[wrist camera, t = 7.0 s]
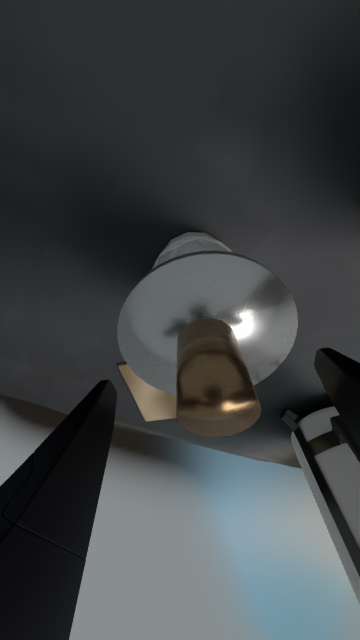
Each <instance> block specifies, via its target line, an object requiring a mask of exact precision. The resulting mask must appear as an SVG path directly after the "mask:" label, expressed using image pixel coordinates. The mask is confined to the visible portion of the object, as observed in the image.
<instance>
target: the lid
mask: <svg viewBox="0 0 360 640" xmlns="http://www.w3.org/2000/svg"><path fill="white" fill-rule="evenodd" d="M297 328H298V315H297V310H296V305H295V303H294V300H293V297H292V296H291V294H290V292H289V290H288V289H287V287H286V286H285V285H284V284H283V283H282V281H281V280H280V279H279V278H278V277H277V276H276V275H275V274H274V273H273V272H271V271H270V270H269V269H268V268H267V267H265V266H264V265H262V264H260V263H259V262H257V261H255V260H253V259H251V258H248V257H246V256H243V255H240V254H236V253H232V252H225V251H199V252H192V253H187V254H184V255H180V256H177V257H174V258H172V259H170V260H167V261H165V262H163V263H161V264H160V265H158V266H156V267H155V268H153V269H152V270H150V271H149V272H148V273H147V274H146V275H144V276H143V277H142V278H141V279H140V280H139V281H138V282H137V283H136V285H135V286H134V287H133V289H132V290H131V292H130V293H129V295H128V296H127V299H126V301H125V303H124V305H123V307H122V310H121V312H120V316H119V320H118V327H117V337H118V344H119V348H120V351H121V353H122V356H123V358H124V360H125V361H126V363H127V365H128V366H129V367H130V368H131V370H132V371H133V372H134V373H135V374H136V375H137V376H138V377H139V378H140V379H142V380H143V381H144V382H146V383H147V384H149V385H151V386H152V387H154V388H156V389H158V390H161V391H163V392H166V393H169V394H172V395H176V418H177V421H178V423H179V424H180V426H181V427H183V428H184V429H185V430H186V431H188V432H190V433H193V434H195V435H199V436H204V437H225V436H230V435H234V434H237V433H240V432H242V431H244V430H246V429H248V428H249V427H251V426H252V425H253V424H254V423H255V422H256V421H257V420H258V419H259V417H260V414H261V405H260V402H259V399H258V397H257V394H256V391H255V388H254V385H256V384H257V383H259V382H261V381H262V380H264V379H265V378H266V377H268V376H269V375H270V374H271V373H273V372H274V371H275V370H276V369H277V368H278V367H279V366H280V364H281V363H282V362H283V361H284V360H285V358H286V357H287V355H288V354H289V352H290V350H291V348H292V346H293V344H294V341H295V338H296V333H297Z"/></svg>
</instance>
